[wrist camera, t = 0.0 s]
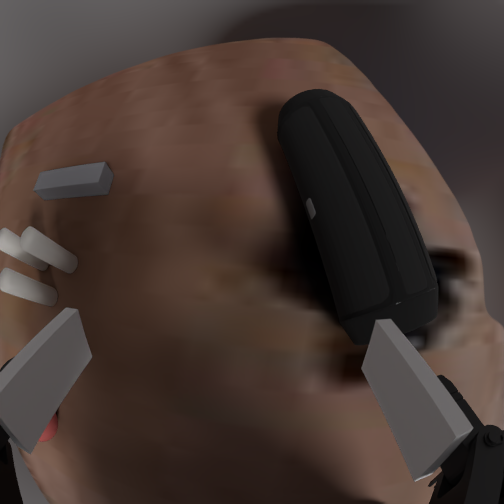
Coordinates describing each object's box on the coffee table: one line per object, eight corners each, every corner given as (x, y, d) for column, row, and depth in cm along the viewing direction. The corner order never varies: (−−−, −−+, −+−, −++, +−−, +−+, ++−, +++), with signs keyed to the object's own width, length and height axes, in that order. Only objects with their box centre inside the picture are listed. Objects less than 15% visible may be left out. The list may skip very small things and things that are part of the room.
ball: (69, 442, 20) (41, 454, 14) (36, 426, 20) (7, 434, 14) (65, 398, 22) (33, 404, 16) (32, 385, 22) (1, 387, 16)
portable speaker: (268, 144, 33) (275, 84, 24) (336, 137, 34) (357, 83, 25) (331, 348, 25) (376, 349, 16) (407, 319, 26) (466, 304, 17)
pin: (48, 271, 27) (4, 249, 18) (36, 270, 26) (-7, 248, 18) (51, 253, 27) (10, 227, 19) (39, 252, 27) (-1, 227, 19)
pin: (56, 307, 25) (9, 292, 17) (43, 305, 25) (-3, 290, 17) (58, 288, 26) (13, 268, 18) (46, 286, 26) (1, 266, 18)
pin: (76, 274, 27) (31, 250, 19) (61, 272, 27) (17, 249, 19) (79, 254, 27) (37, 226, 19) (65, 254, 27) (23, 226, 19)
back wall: (108, 194, 30) (98, 182, 27) (44, 200, 30) (33, 190, 27) (113, 175, 31) (105, 161, 28) (50, 182, 31) (40, 172, 28)
